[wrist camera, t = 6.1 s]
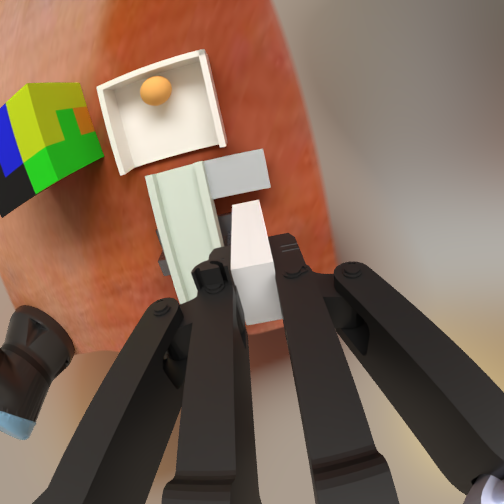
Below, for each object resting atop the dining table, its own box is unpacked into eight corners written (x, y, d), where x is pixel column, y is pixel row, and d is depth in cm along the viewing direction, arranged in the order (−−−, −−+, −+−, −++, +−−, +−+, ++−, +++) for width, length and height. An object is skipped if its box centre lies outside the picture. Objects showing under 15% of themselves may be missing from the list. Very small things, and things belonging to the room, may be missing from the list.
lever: (293, 321, 33) (297, 333, 31) (198, 336, 34) (194, 349, 31) (262, 149, 28) (263, 147, 25) (152, 175, 28) (142, 176, 26)
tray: (131, 168, 29) (120, 175, 26) (110, 87, 24) (96, 86, 21) (227, 141, 28) (226, 146, 25) (207, 55, 23) (203, 48, 20)
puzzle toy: (25, 122, 24) (-27, 137, 15) (79, 82, 23) (27, 83, 14) (48, 187, 29) (2, 218, 20) (104, 156, 28) (58, 180, 19)
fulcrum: (248, 255, 35) (249, 275, 31) (172, 269, 36) (165, 290, 32) (237, 210, 32) (237, 227, 28) (156, 228, 33) (146, 246, 29)
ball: (140, 79, 23) (149, 104, 25) (132, 85, 21) (142, 114, 23) (169, 69, 23) (177, 95, 25) (163, 74, 21) (173, 104, 23)
